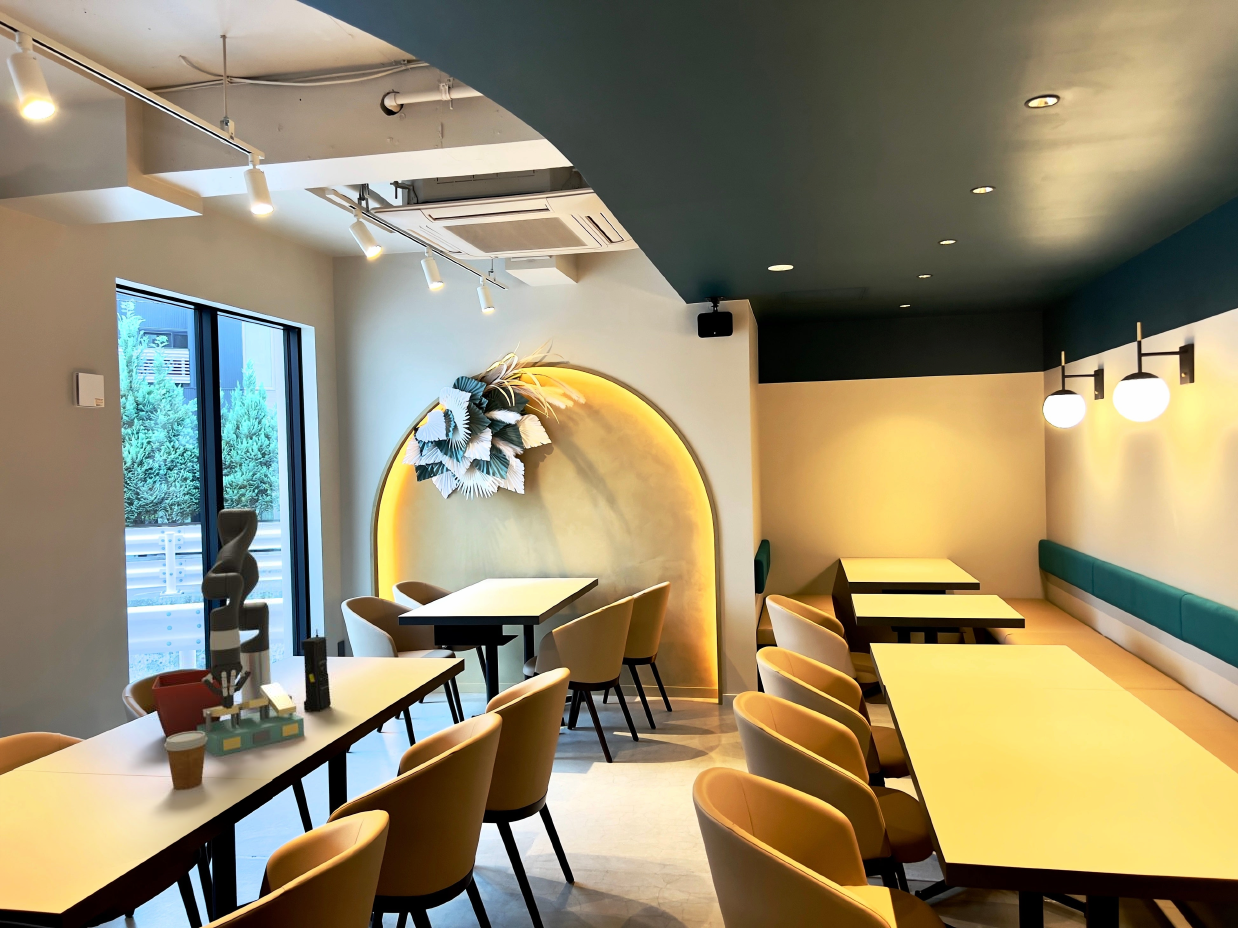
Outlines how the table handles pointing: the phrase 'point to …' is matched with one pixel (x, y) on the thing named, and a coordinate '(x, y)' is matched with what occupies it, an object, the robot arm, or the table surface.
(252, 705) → the rocker
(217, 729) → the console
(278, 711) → the rocker
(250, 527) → the robot arm
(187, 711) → the plant pot
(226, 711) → the rocker
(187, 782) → the disposable coffee cup
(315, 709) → the portable radio
